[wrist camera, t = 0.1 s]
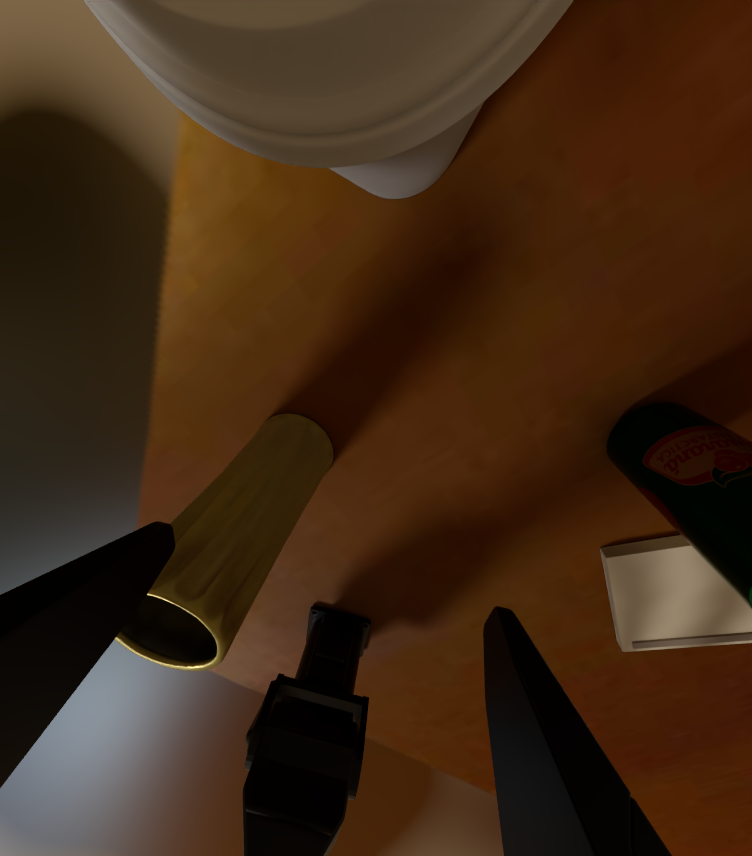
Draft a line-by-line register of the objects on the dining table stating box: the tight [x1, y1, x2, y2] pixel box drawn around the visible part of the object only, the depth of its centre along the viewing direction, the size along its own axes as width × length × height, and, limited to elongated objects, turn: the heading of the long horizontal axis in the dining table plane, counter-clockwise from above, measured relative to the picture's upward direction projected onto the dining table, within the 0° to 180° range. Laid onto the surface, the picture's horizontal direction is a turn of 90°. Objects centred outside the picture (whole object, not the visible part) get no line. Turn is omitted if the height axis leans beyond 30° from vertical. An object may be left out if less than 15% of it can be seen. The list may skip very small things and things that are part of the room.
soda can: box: [607, 402, 752, 609], centre depth 15 cm, size 5×5×12 cm
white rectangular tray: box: [600, 535, 752, 652], centre depth 24 cm, size 14×12×1 cm
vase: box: [115, 414, 333, 671], centre depth 18 cm, size 6×6×14 cm
